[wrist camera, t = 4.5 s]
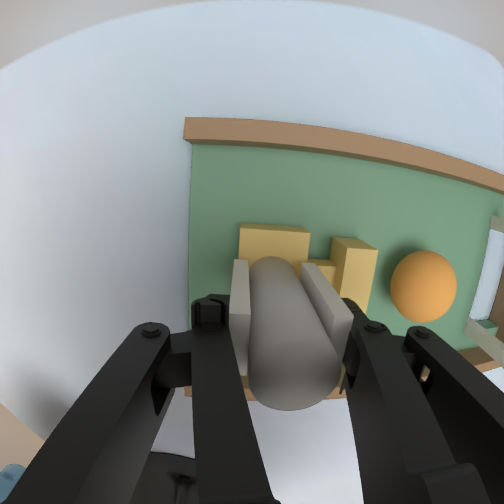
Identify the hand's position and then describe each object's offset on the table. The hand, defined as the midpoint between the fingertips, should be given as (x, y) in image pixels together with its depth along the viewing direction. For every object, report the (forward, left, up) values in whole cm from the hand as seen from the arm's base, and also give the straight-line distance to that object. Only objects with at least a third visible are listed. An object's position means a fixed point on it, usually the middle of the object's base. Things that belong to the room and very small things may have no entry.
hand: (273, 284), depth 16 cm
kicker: (+2, -1, -3) cm, 3 cm away
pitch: (+10, -5, -5) cm, 12 cm away
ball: (+9, -5, -1) cm, 11 cm away
